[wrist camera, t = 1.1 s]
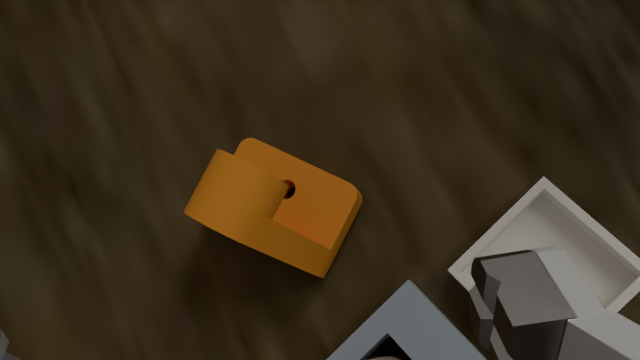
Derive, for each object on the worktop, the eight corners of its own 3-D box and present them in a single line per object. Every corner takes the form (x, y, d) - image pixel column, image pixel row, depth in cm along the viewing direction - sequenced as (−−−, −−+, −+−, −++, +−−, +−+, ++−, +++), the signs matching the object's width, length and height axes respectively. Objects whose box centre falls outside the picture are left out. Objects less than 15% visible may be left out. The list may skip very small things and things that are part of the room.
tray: (541, 184, 44) (543, 176, 41) (647, 277, 41) (657, 273, 38) (449, 273, 44) (447, 269, 42) (548, 372, 41) (552, 374, 38)
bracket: (369, 196, 47) (329, 153, 36) (326, 279, 47) (273, 262, 35) (257, 143, 51) (190, 90, 40) (216, 220, 50) (137, 188, 39)
